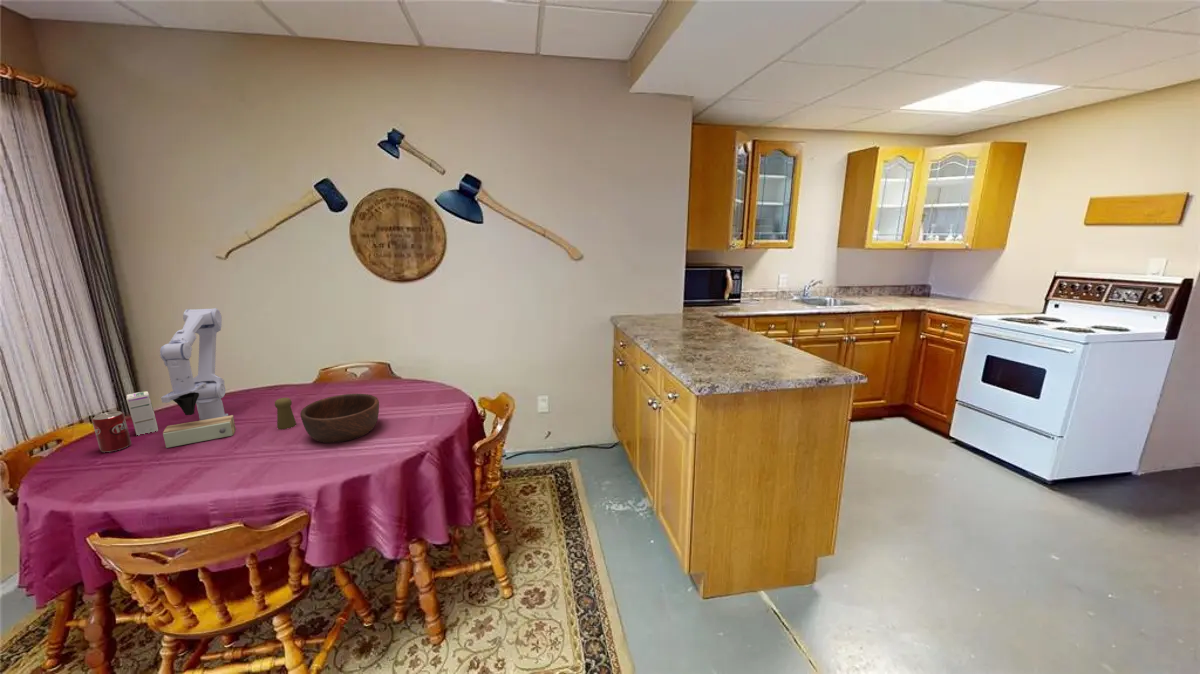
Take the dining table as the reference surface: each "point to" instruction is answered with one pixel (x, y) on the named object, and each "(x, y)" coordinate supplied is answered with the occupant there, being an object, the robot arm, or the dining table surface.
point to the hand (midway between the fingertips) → (189, 414)
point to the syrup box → (142, 412)
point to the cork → (284, 413)
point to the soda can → (111, 431)
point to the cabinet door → (197, 434)
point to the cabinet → (202, 424)
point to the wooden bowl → (340, 417)
